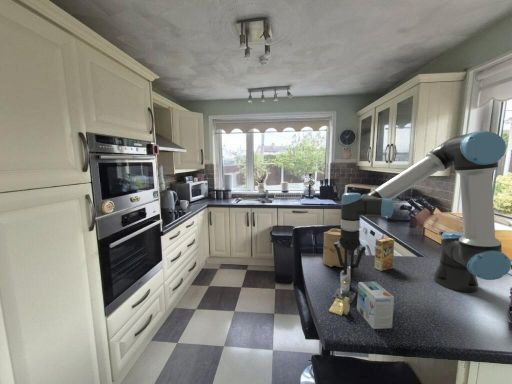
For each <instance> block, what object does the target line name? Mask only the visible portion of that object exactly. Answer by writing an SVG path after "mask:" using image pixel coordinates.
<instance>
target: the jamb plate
mask: <svg viewBox="0 0 512 384" xmlns="http://www.w3.org/2000/svg"><path fill="white" fill-rule="evenodd" d="M356 295H357V293H356V292H354V291H350V290H349V295H342V294H341V287H340V288H339V287H338V288H337V289H336V291H335V292H334V294H333V295H332V296H333V298H334V299H336V298H338V299H341V300H344V298H345V297H348V298H350V304H352V303H353V302H354V300H355V298H356Z"/></svg>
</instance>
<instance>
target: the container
mask: <svg viewBox="0 0 512 384" xmlns="http://www.w3.org/2000/svg"><path fill="white" fill-rule="evenodd" d="M341 229H342V228H331V229H329V230H327V231H324V232H323V255H322V256H323V257H322V259H323V260H322V263H323V265H325V266H329V267H330V268H332V267H334V266H335V267H338V268H344V267H343V266H341V265H340V263H339V258H338V254H337V250H336V248H335V246H334V243H335V242H336V243H337V242H339V240H340V237H341ZM340 251H341V255H342V259H343V262H344V255H345V249H343V247H342V246H341V244H340Z"/></svg>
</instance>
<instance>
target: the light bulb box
mask: <svg viewBox="0 0 512 384" xmlns="http://www.w3.org/2000/svg"><path fill="white" fill-rule="evenodd" d="M356 301H357V303H356V311H358V312H359V314H360V315H361V316H362V317H363V319H364V320H365V321H366V322H367V324H368V325H369V326H370V327H371V328H372V329H374V330H378V329H379V330H380V329H392V328H393V320H394V319H393V316H394V305H395V304H394V303H395V296H394V295H392V294H391V293H390V292H389V291H387V290H386V289H385V288H383V286H382V285H380V284H379V283H377V282H376V280H375V281H359V282H358V283H357V300H356Z"/></svg>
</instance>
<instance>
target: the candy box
mask: <svg viewBox="0 0 512 384" xmlns="http://www.w3.org/2000/svg"><path fill="white" fill-rule="evenodd" d="M374 247H375V248H374V249H375V250H374V251H375V252H374V269H376V270H378V271H380V272H381V271H386V270H390V269H393V268H394V256H395V255H394V254H395V239H394V238H390V237H383V238H378V239H375V246H374Z"/></svg>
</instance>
